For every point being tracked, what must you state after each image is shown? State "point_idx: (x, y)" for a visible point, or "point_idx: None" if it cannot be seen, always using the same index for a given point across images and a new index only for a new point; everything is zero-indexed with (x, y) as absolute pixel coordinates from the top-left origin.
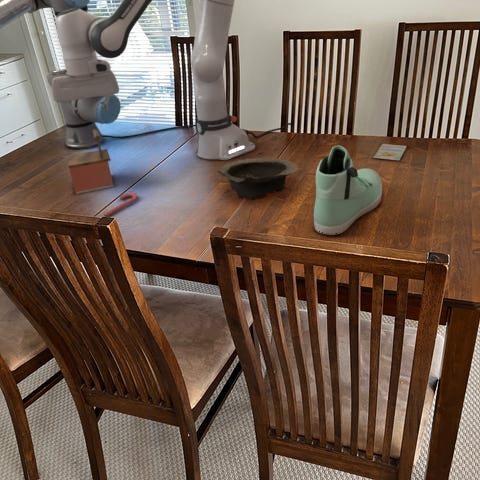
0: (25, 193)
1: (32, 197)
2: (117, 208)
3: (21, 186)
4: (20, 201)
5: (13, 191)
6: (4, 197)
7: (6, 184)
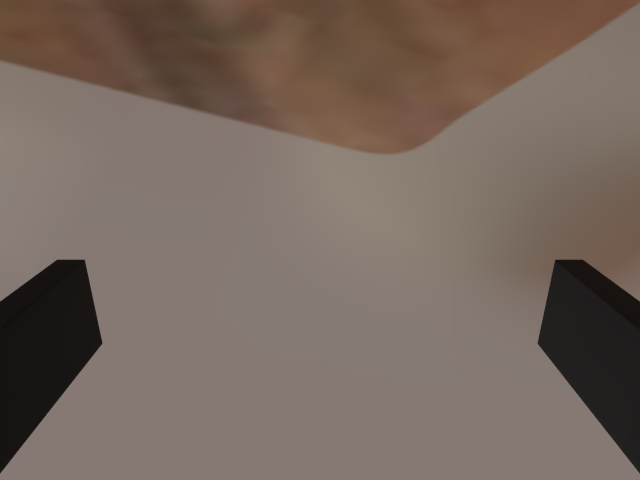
0: (357, 27)
1: (449, 11)
2: None
3: (228, 14)
4: (444, 86)
5: (272, 78)
6: (319, 141)
7: (131, 82)
